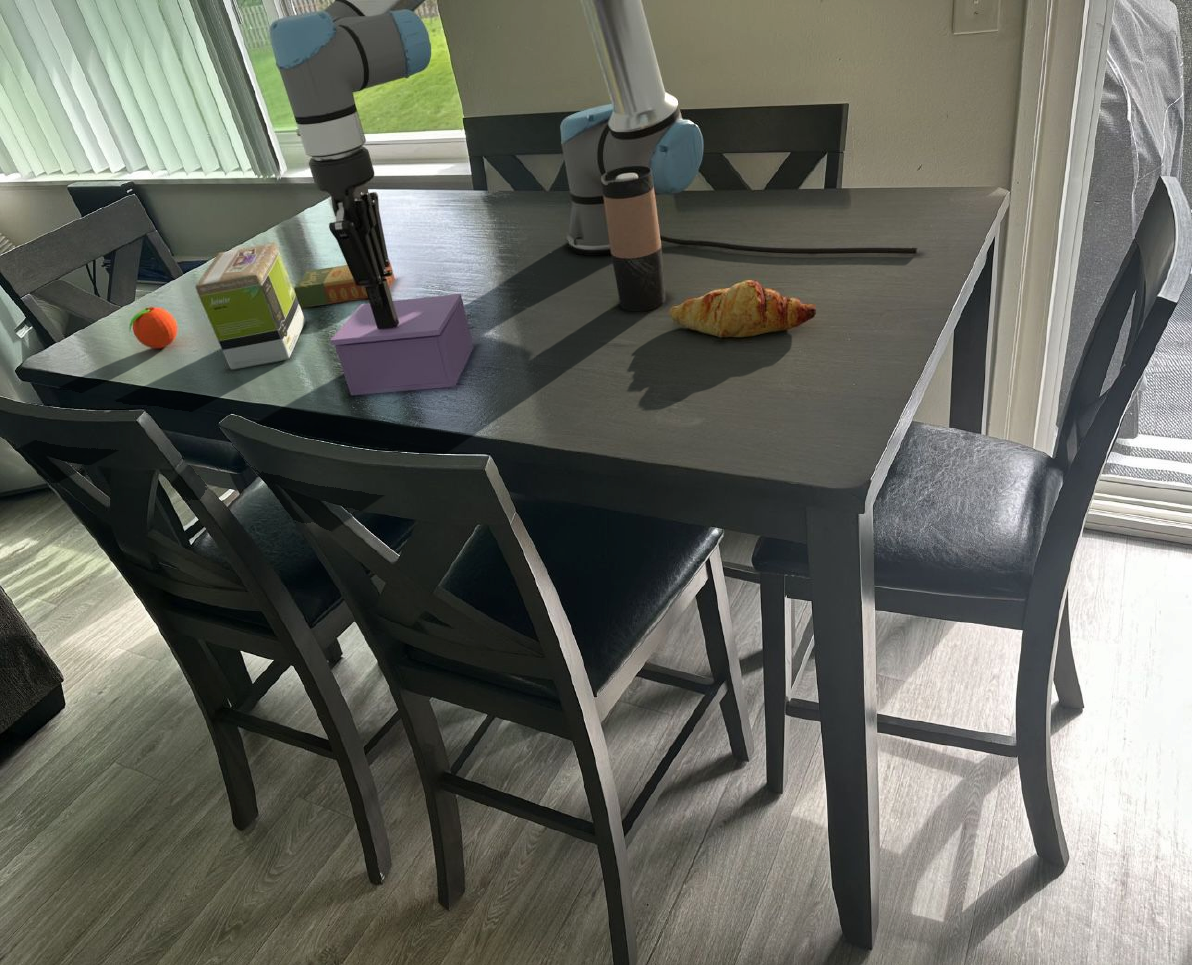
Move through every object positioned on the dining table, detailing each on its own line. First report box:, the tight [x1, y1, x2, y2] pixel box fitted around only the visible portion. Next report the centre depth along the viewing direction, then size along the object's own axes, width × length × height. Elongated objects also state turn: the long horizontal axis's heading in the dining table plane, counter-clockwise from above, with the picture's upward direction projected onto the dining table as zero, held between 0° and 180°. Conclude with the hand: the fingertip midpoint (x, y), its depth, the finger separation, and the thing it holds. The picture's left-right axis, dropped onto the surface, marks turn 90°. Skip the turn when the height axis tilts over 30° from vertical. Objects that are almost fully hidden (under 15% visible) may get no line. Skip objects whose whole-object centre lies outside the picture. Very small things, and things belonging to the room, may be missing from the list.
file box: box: [334, 298, 475, 396], centre depth 135 cm, size 13×16×8 cm
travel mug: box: [601, 166, 666, 312], centre depth 140 cm, size 8×8×20 cm
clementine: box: [128, 306, 178, 349], centre depth 159 cm, size 8×7×7 cm
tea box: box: [194, 241, 306, 370], centre depth 150 cm, size 15×10×15 cm, turn 5°
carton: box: [293, 260, 395, 309], centre depth 168 cm, size 8×16×4 cm, turn 89°
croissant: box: [669, 279, 817, 338], centre depth 132 cm, size 21×10×8 cm, turn 70°
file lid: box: [329, 293, 463, 346], centre depth 132 cm, size 13×16×1 cm
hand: (388, 325), depth 129 cm, fingers closed
